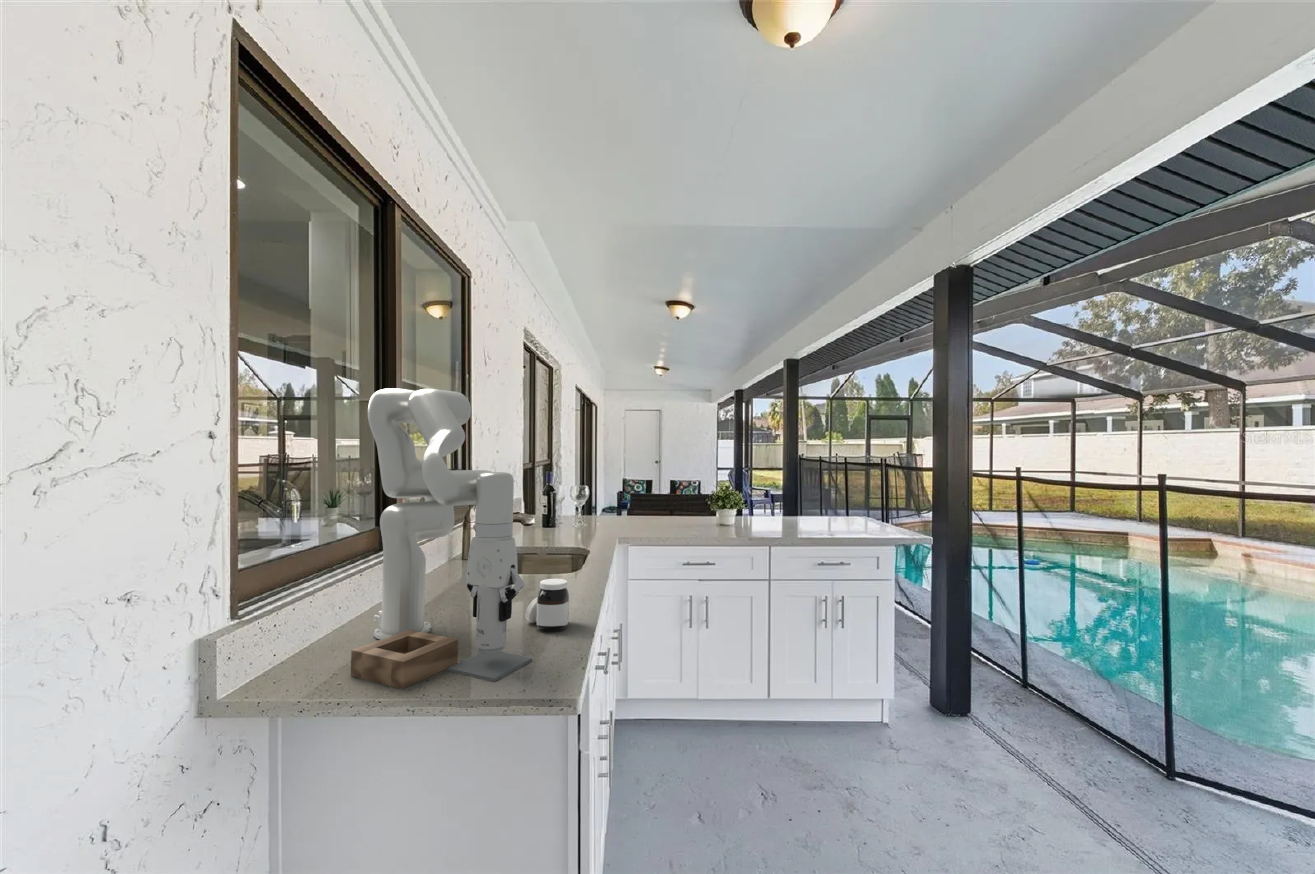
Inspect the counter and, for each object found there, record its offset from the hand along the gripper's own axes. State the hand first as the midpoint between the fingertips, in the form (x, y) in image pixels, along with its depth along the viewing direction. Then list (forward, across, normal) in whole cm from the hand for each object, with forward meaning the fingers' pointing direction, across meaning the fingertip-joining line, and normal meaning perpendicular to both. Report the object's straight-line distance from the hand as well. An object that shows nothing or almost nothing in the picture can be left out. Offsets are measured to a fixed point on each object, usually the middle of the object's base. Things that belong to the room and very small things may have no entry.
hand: (492, 616), depth 114 cm
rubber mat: (+10, 0, 0) cm, 10 cm away
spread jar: (+10, -5, +27) cm, 29 cm away
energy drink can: (+7, 0, 0) cm, 7 cm away
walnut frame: (+10, -14, -9) cm, 19 cm away
